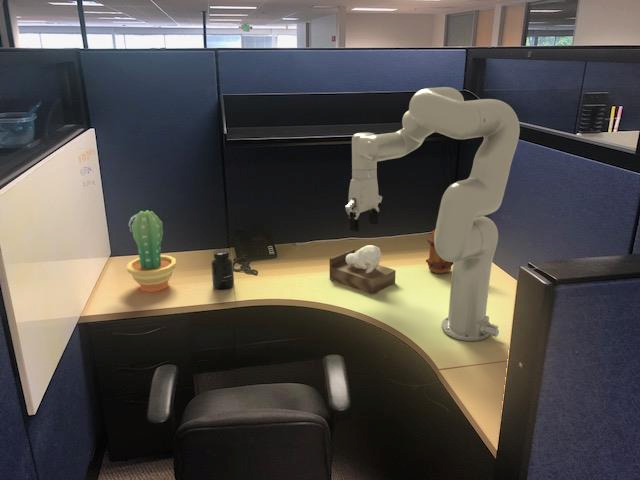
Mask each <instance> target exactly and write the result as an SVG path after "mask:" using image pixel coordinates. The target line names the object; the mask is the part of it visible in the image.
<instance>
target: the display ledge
mask: <svg viewBox="0 0 640 480" xmlns="http://www.w3.org/2000/svg"><path fill="white" fill-rule="evenodd" d="M355 252H356V249H355V248H351V249H349V250H346V251H344V252H342V253H340V254H337V255H334V256H332V257H329V280H330V281H333V282H337V283H339V284H342V285H345V286H348V287H351V288H353V289H356V290H358V291H362V292H365V293H367V294H370V295H375V294H377V293H379V292H381V291H383V290H384V289H386V288H388V287H390V286H392V285H394V284H396V273H397V272H396V269H393V268H390V267H386V266H383V265H380V264H378V266H377V268H376V269H374V270H373V271H372V272H371V273H368V274H367V273H366V270H367V269H368V268H370V267H371V265H370V264H369V263H368V264H365V265H366V267H367V268H366V269H363V268H362V267H360V266H359V265H354V267H351V268H350V267H349V265H348V264H347V262H346V256H347V255H348V254H351V253H355Z"/></svg>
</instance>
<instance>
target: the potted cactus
mask: <svg viewBox="0 0 640 480" xmlns="http://www.w3.org/2000/svg"><path fill="white" fill-rule="evenodd" d="M128 221H129V222H128V227H129V231H130V233H132V236H133V240H134V241H135V243H136V245H137V250H138V256H139V257H137V258H134V259H133V260H131V261H129V262H127V264H126V270H127V272H128V273H129V274H131V277H132V278H133V280H134V281H135V282H136V283H137V284H138V285H139V286H140V287H139V288H140V290H141V291H143V292H147V293H148V292H149V293H152V292H153V293H154V292H159V291H162V290H165V289H166V288H168V287H169V281H170V279H171V278H172V275H173V272H174V269H175V268H176V262H177V260H176V258H175V257H173V256H171V255H166V254H165V255H163V254H161V253H162V251H161V247H162V246H161V244H162V240H163V235H164V230H163V229H164V227H163V222H162V220H161V219H160V218H159V216H157V215H156V213H155V212H154V211H153V210H151V211H149V209H147V210H145V211H143V210H140V211H139V212H138V213H136V214H134V215H132V216H131V218H130V219H129V220H128Z"/></svg>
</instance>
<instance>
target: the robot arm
mask: <svg viewBox="0 0 640 480" xmlns="http://www.w3.org/2000/svg"><path fill="white" fill-rule="evenodd" d="M401 123H402V128H401V129H399V130H397V131H395V132H389V133H380V134H376V133H373V132H357V133H354V134H353V135H352V137H351V166H352V167H351V171H352V172H351V176H352V177H351V178H352V179H350V183H349V189H348V204H346V205H345V208H344V209H345V212H346V215H347V216H348V218H349V230H350V231H352V232H356V233H357V232H360V218H359V216H360V214H361V213H364V212H366V211H368V212H369V215H368V219H369V224H371V225H376V226H377V225H379V212H380V209H381V208H380V207H381V205H382V200H383V196H382V195H379V185H378V173H377V169H378V167H377V165H378V164H377V163H378V162H383V161H387V160H393V159H400V158H402V157H404V156H406V155H408V154H410V153H411V152H413V151H415V150H417V149H418V148H420V146H422V144H423V142H424V141H425V139H426V138H427V137H428V136H430V135H432V134H434V133H438V134H440V135H444V136H446V137H449V138H451V139H455V140H467V139H474V138H481V137H483V141H482V142H481V144H480V146H479V147H478V149H477V151H476V153H475V154H474V155H475V156H474V158H473V163H472V167H471V171H470V174H469V177H468V178H466V179H463V180H458V181H456V182H454V183H451V184H450V185H449V186H448V187H447V188H446V190H445V191H444V193H443V195H442V196H441V201H440V205H439V209H438V215H437V219H436V225H435V229H434V230H435V235H434V245H435V249H436V252H437V254H438V255H439V256H440V257H441V258H442V259H443V260H445V261H448V262H453V265H452V267H451V280H450V292H449V293H450V294H449V302H448V303H449V304H448V305H449V306H448V316H447V317H445V318H444V319H442V322H441V330H442V332H444V333H445V334H446V335H448V336H449V337H452V338H453V339H456V340H461V341H465V342H466V341H467V342H475V341H477V342H478V341H481V340H485V339H486V338H488V337H489V335H490V336H492V337H494V338H495V337H496V338H497V337H498V336H499V334H500V333H499V332H500V330H499V325H497V324H494V323H491V322H490V316H489V315H487V306H488V297H489V288H490V279H491V271H492V266H493V264H492V263H493V259H494V255H495V253H496V249H497V246H498V243H499V242H498V241H499V231H498V227H497V225H496V224H495V222H494V221H493V220H492V219H491V218H489V217H486V216H488V215H490V214H493V213H495V212H496V211H498V210H499V208H500V207H501V205H502V203H503V202H502V201H503V198H504V196H505V191H506V187H507V183H508V179H509V175H510V171H511V166H512V162H513V159H514V155H515V154H516V153H515V152H516V150H517V145H518V144H519V143H518V142H519V137H520V132H521V130H520V129H521V127H520V120H519V118H518V115H517V113H516V112H515V110H514V109H513V108H512V107H511V106H510V105H509V104H508V103H506V102H504V101H502V100H499V99H493V98H481V99H474V100H473V99H472V100H465V99H464V96H463V94H462V93H461V92H460V91H459V90H457V89H456V88H453V87H450V86H449V87H448V86H443V87H442V86H441V87H426V88H423V89H420V90H418V91H417V92H415V93H414V95H413V96H412V97H411V99H410V101H409V105H408V110H407V111H405V113H404V114H403V116H402V120H401Z"/></svg>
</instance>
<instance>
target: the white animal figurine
mask: <svg viewBox="0 0 640 480" xmlns="http://www.w3.org/2000/svg"><path fill="white" fill-rule="evenodd" d="M381 256H382V252H381V249H380V247H378V246H375V245H371V244H370V245H368V244H367V245H365V246H362V247H361V248H360V249H358V250H356V251H355V253H351V254H348V255H347V256H346V262H347V264H348V265H349V267H350V268H351V267H354V265H359V266H360V267H362V268H363V269H366V268H367V267H366V265H365V264H368V263H369V264H370V265H371V267H370V268H368V269H367V270H366V273H367V274H368V273H371V272H372V271H373V270H374V269H376V268H377V266H378V265H380V261H381Z"/></svg>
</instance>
